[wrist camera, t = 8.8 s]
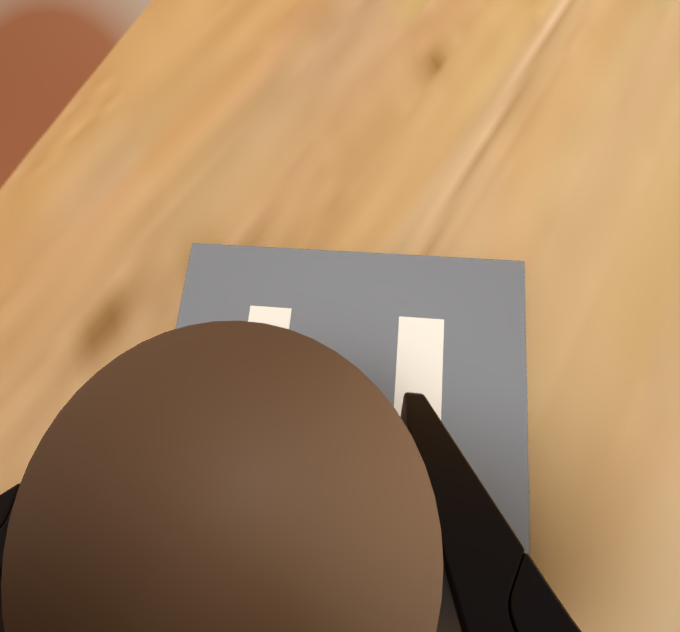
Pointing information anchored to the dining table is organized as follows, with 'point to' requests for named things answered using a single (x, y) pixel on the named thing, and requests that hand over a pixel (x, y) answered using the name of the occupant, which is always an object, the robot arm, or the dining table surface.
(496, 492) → the letter board
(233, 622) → the walnut pillar
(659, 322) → the dining table surface
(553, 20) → the dining table surface
